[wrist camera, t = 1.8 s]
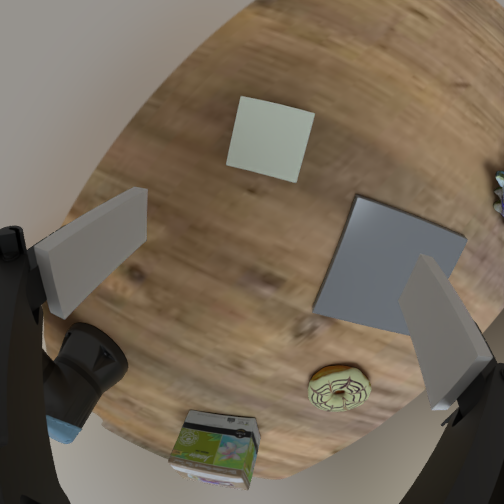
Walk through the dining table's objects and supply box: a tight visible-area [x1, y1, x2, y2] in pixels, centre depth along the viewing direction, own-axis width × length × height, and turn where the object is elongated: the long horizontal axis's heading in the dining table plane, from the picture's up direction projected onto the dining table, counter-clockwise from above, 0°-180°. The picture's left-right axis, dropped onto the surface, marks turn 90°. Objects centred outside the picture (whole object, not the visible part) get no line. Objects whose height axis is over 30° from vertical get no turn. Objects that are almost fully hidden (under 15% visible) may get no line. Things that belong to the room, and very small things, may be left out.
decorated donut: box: [308, 365, 371, 412], centre depth 43 cm, size 10×11×4 cm
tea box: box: [168, 410, 261, 490], centre depth 50 cm, size 15×10×15 cm, turn 98°
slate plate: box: [312, 194, 468, 336], centre depth 33 cm, size 16×16×1 cm
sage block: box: [226, 96, 315, 183], centre depth 26 cm, size 6×6×8 cm
